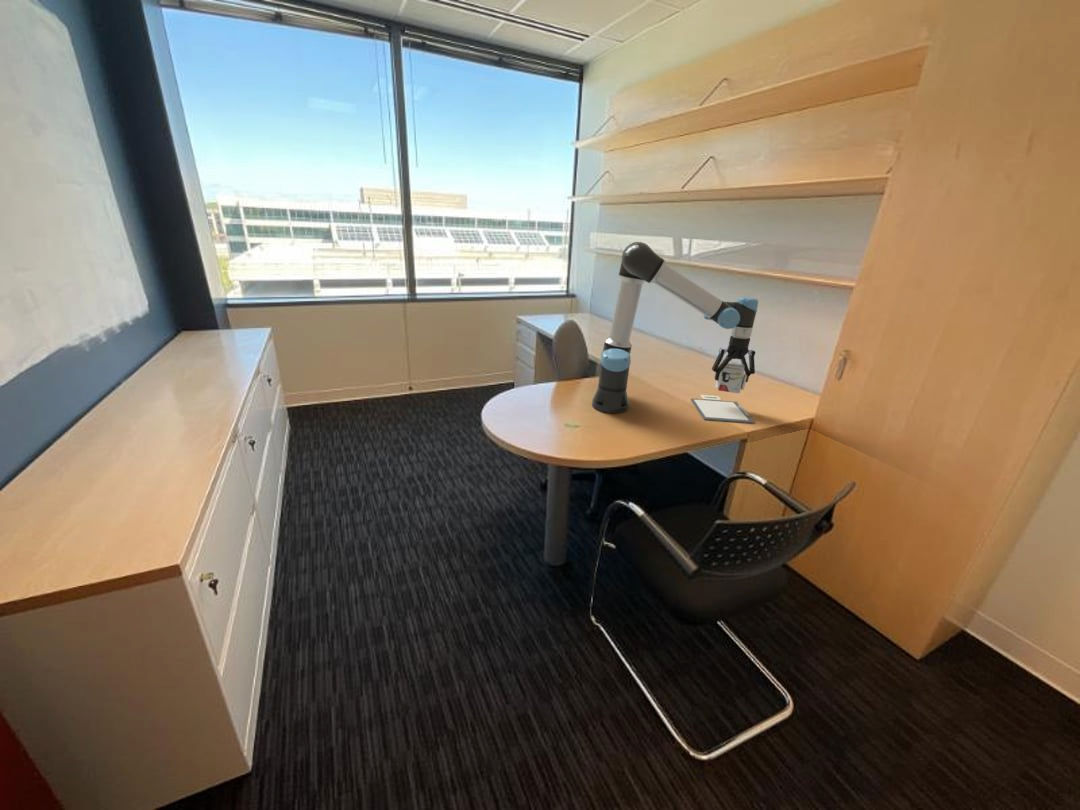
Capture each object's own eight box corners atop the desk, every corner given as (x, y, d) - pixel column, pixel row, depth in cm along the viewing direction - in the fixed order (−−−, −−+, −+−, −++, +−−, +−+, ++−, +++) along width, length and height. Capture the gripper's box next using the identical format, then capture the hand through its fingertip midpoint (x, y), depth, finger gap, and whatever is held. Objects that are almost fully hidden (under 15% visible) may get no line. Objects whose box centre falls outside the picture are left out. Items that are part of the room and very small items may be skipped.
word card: (703, 399, 198) (703, 398, 198) (700, 395, 203) (700, 394, 203) (721, 400, 198) (721, 399, 198) (718, 396, 202) (718, 395, 202)
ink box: (717, 390, 188) (722, 363, 183) (719, 387, 192) (723, 361, 187) (739, 393, 184) (744, 366, 179) (740, 390, 188) (745, 363, 183)
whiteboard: (703, 419, 177) (704, 417, 176) (690, 399, 197) (691, 397, 196) (754, 423, 176) (755, 420, 175) (736, 403, 196) (736, 400, 196)
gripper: (715, 337, 176) (705, 389, 185) (772, 340, 175) (759, 392, 183) (710, 332, 183) (700, 383, 191) (764, 335, 182) (752, 386, 190)
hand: (729, 388), depth 187 cm, fingers closed on ink box, 10 cm apart
